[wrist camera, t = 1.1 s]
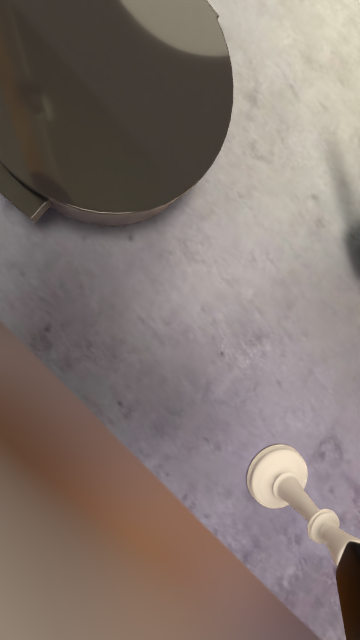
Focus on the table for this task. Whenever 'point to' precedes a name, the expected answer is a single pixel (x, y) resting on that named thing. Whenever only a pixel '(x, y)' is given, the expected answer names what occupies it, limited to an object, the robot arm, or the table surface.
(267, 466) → the chess piece
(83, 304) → the table surface
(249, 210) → the table surface
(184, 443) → the table surface
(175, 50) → the pot
